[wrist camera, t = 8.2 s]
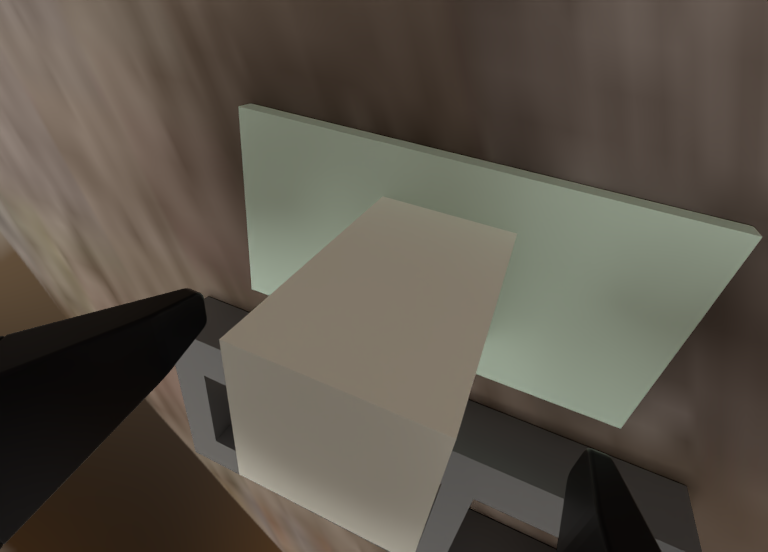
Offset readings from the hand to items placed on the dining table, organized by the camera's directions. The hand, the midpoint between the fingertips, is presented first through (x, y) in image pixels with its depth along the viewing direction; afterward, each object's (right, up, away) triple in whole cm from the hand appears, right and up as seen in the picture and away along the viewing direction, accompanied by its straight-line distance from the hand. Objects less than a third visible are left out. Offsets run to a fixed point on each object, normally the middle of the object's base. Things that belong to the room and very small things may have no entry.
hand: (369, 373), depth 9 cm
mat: (+2, +3, +4) cm, 5 cm away
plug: (+2, +2, +4) cm, 5 cm away
